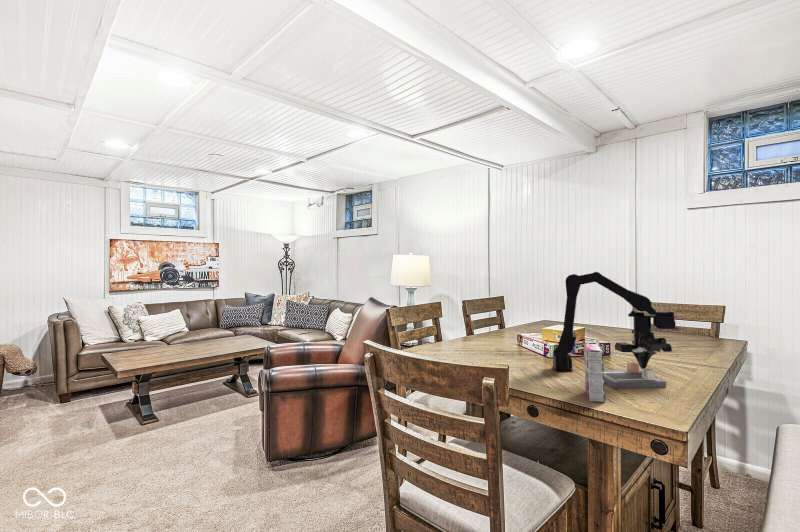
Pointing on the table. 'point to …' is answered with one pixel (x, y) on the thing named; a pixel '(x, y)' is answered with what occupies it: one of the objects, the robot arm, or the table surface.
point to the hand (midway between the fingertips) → (643, 369)
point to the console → (630, 380)
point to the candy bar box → (594, 372)
